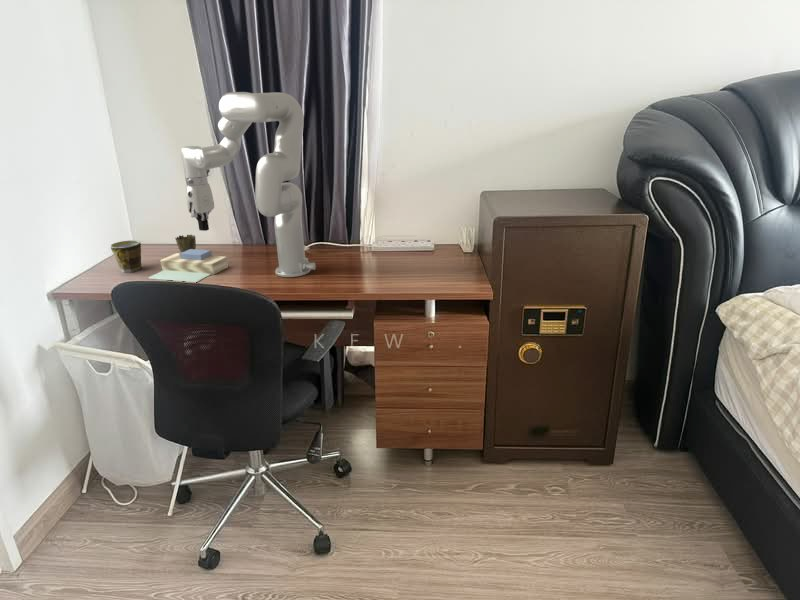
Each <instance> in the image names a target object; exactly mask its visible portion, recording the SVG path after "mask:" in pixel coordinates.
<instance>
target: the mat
mask: <svg viewBox="0 0 800 600" xmlns="http://www.w3.org/2000/svg"><path fill="white" fill-rule="evenodd" d="M210 276H211V274H208V273H196V272H183V271H171V270H163V271H162V270H161V271H159V272H157V273H155V274H153V275H150V276H149V277H147V278H146V279H147V280H158V281H166V280H173V281H172V282H178V281H186V282H185V283H189V282H197V283H198V282H200V281H202V280H204V279H206V278H208V277H210Z"/></svg>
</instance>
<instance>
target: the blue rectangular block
mask: <svg viewBox="0 0 800 600" xmlns="http://www.w3.org/2000/svg"><path fill="white" fill-rule="evenodd" d="M179 253H180V258H181V259H189V260H203V259H205V258H208V257H210V256H212V251H211V250H207V249H196V248H195V249H189V250H187V251H185V252H179Z"/></svg>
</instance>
